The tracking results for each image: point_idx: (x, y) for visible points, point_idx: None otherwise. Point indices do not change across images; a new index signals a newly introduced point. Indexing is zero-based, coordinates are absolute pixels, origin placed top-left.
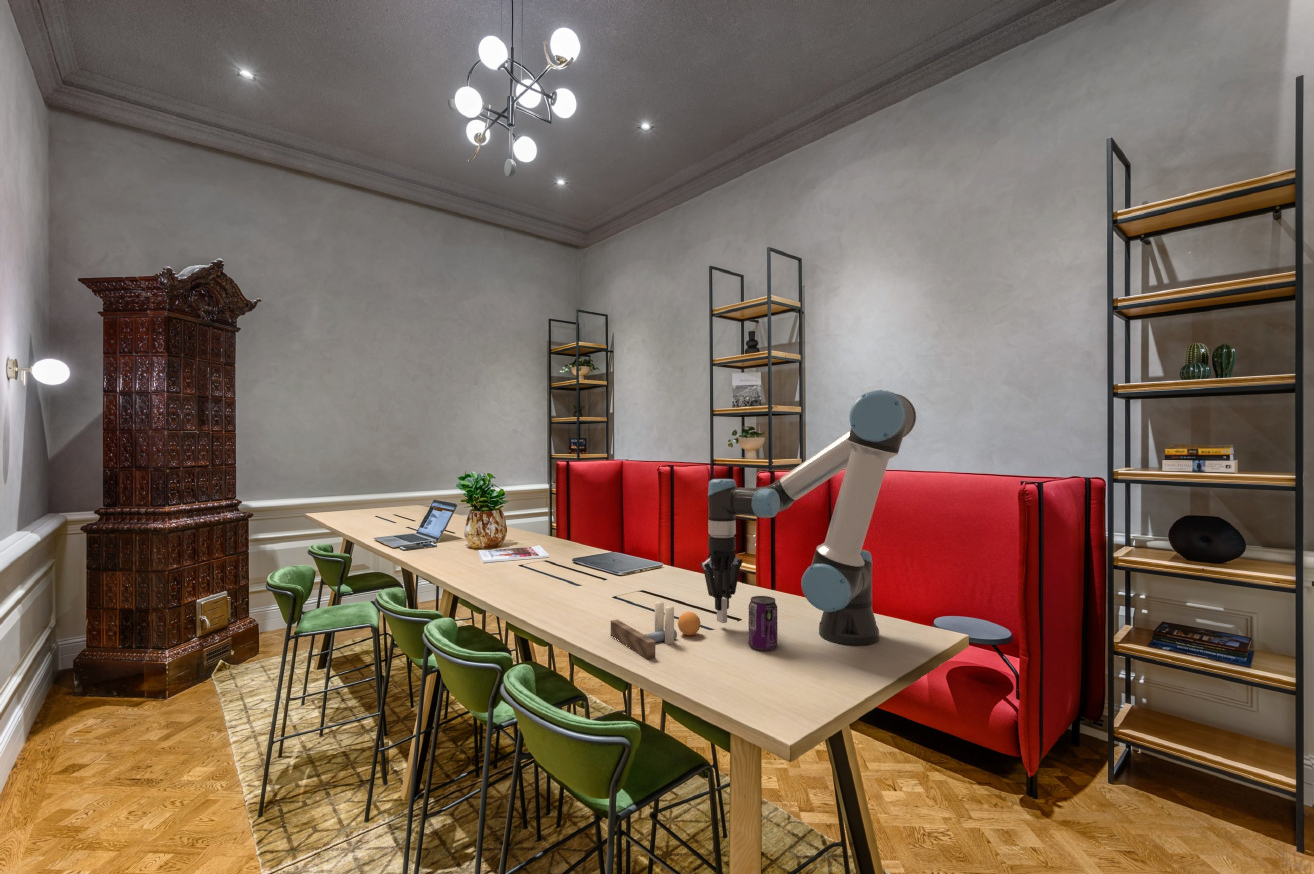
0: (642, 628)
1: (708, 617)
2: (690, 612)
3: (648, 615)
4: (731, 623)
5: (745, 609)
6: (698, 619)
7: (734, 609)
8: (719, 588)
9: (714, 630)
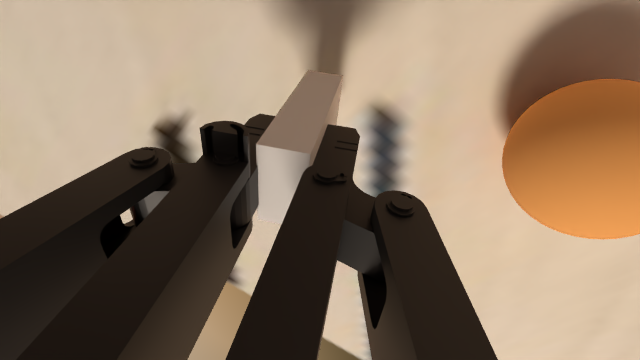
0: (604, 304)
1: (273, 228)
2: (633, 199)
3: None
4: (233, 114)
5: None
6: (601, 116)
7: None
8: (328, 251)
9: (387, 90)
